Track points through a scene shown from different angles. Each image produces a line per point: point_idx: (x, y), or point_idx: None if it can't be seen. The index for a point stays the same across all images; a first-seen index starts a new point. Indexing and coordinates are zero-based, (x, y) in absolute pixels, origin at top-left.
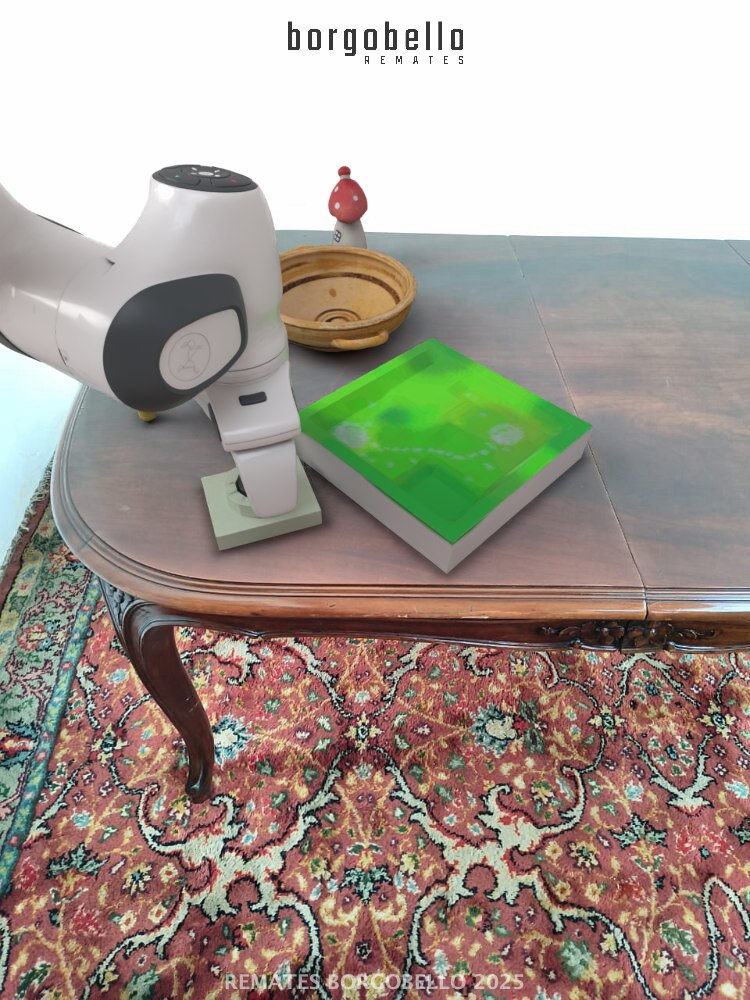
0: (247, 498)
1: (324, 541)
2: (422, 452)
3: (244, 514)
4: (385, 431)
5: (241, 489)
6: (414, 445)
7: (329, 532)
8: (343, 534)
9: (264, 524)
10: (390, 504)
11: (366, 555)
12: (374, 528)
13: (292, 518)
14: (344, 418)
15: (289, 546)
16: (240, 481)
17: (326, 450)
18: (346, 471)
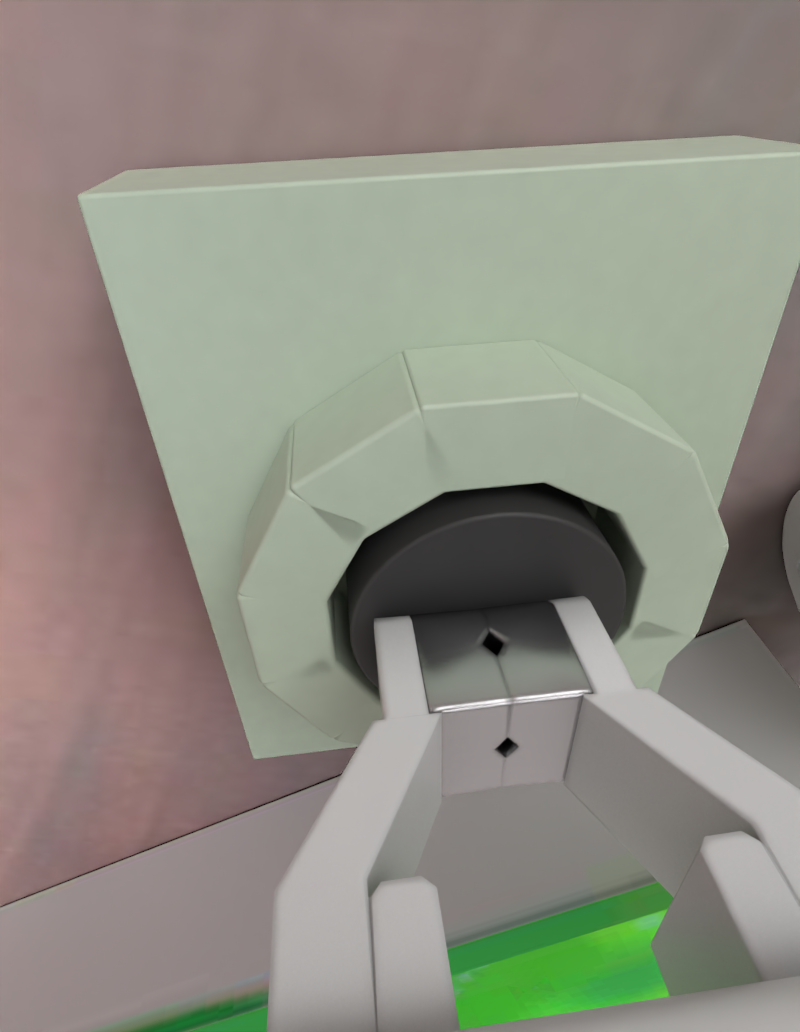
0: (340, 550)
1: (158, 676)
2: None
3: (278, 454)
4: (579, 951)
5: (441, 528)
6: (473, 989)
7: (208, 694)
8: (189, 730)
9: (187, 543)
10: (177, 977)
11: (72, 775)
12: (206, 801)
13: (223, 661)
14: None
15: (138, 558)
16: (530, 531)
17: (548, 896)
18: None
